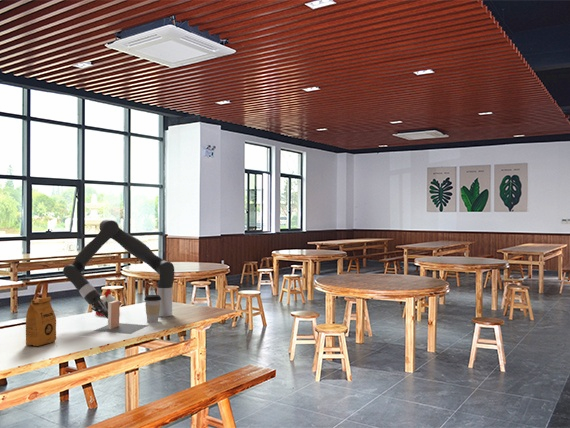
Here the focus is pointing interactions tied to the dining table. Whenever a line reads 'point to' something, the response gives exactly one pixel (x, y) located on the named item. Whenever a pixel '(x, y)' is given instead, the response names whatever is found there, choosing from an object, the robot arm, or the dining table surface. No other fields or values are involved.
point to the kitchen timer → (107, 299)
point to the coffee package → (40, 323)
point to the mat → (122, 328)
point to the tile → (113, 314)
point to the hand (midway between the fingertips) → (109, 317)
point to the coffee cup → (152, 307)
